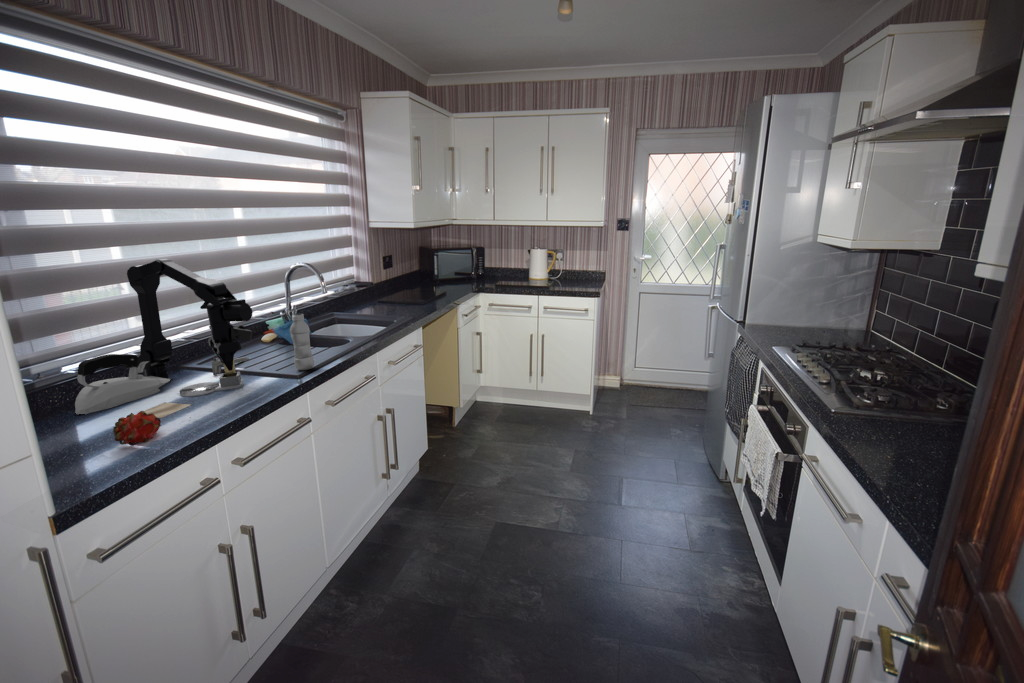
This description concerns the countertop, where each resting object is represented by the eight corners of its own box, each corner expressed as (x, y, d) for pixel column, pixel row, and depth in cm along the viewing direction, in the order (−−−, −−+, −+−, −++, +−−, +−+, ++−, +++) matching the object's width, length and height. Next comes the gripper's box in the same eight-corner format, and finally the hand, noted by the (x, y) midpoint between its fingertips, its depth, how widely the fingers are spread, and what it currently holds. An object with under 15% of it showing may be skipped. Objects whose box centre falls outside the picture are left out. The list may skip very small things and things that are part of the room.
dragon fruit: (113, 459, 124) (160, 444, 136) (134, 441, 122) (179, 427, 134) (96, 429, 125) (143, 417, 137) (115, 411, 123) (162, 400, 134)
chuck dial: (176, 399, 158) (174, 386, 157) (183, 388, 168) (181, 376, 167) (240, 390, 164) (238, 378, 163) (243, 380, 174) (241, 368, 173)
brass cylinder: (226, 383, 166) (222, 352, 165) (225, 382, 168) (221, 352, 167) (237, 381, 167) (233, 351, 167) (236, 381, 170) (231, 351, 169)
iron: (173, 390, 167) (164, 346, 164) (88, 418, 146) (75, 368, 142) (152, 386, 172) (143, 343, 168) (67, 413, 151) (54, 364, 147)
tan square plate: (133, 417, 146) (133, 415, 146) (165, 404, 155) (164, 402, 155) (161, 419, 143) (161, 417, 143) (191, 406, 153) (191, 404, 152)
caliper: (216, 376, 181) (213, 359, 180) (213, 376, 182) (210, 359, 180) (249, 359, 201) (246, 344, 200) (246, 359, 201) (244, 344, 200)
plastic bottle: (309, 372, 182) (301, 316, 176) (291, 372, 183) (283, 316, 178) (318, 367, 188) (311, 312, 183) (301, 366, 189) (294, 312, 184)
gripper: (254, 320, 162) (262, 368, 166) (240, 315, 176) (249, 359, 180) (214, 327, 155) (224, 376, 159) (203, 320, 170) (213, 366, 173)
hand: (229, 369), depth 168 cm, fingers open, 4 cm apart
